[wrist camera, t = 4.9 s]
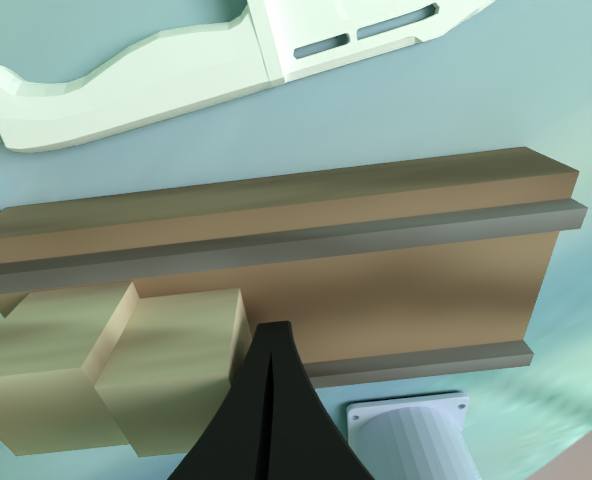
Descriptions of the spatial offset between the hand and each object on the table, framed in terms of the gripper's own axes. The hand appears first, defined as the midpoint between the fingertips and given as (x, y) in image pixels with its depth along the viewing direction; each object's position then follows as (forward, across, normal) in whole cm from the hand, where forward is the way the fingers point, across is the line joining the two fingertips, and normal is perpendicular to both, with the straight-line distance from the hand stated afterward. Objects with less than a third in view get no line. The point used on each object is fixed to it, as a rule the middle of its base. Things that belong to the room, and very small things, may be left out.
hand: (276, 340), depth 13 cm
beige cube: (+1, +3, 0) cm, 4 cm away
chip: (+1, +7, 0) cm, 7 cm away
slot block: (+4, 0, 0) cm, 4 cm away
